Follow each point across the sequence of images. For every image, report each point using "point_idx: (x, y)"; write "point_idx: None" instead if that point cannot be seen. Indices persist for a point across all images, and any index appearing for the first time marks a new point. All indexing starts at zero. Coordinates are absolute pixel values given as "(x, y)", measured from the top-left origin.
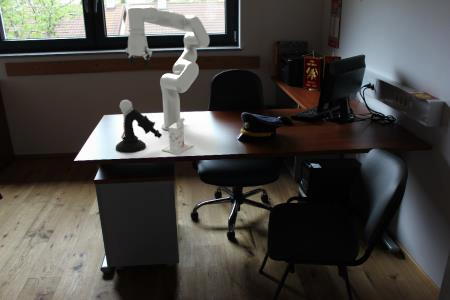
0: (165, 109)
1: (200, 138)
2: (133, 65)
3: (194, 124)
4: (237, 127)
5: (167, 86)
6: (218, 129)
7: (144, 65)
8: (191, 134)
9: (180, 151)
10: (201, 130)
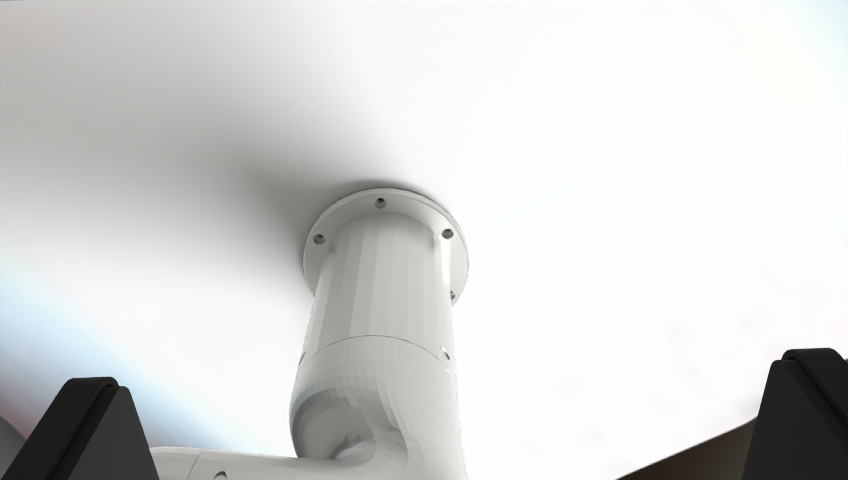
0: (385, 297)
1: (35, 183)
2: (760, 446)
3: None
4: None
5: (307, 476)
6: None
7: (67, 420)
8: (157, 216)
9: None
10: (174, 314)
